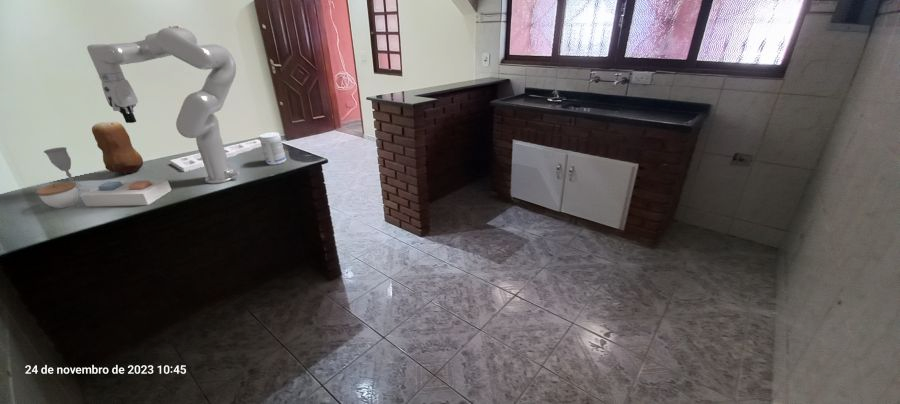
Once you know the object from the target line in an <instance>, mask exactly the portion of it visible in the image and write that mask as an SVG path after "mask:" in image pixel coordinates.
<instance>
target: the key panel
mask: <svg viewBox="0 0 900 404" xmlns="http://www.w3.org/2000/svg"><path fill="white" fill-rule="evenodd" d="M112 181H113V180H110V181H108V182H112ZM120 181H121V184H122V186H120V187H118V188H116V189H114V190H107V191H100V190H99V188H98V186H96V187H95V188H92V189H91V190H89V191H86V192H84V193H82V194H80V197H81V198H82V201H83V202H84V205H85V206H86V207H111V206H112V207H117V206H118V207H119V206H149V205H151V204H153V203H154V202H155V201H157V200H158V199H160V198H162V197H164V195H166V194H167V193H168V194H169V192H171V191H172V187H171V185H170V182H169V180H168V179H142V180H141V179H139V180H133V179H132V180H120ZM137 181H150V182H151V184H152V185H150V186H148V187H147V188H145V189H143V190H130V189H129V185H131V184H133V183H135V182H137Z"/></svg>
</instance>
